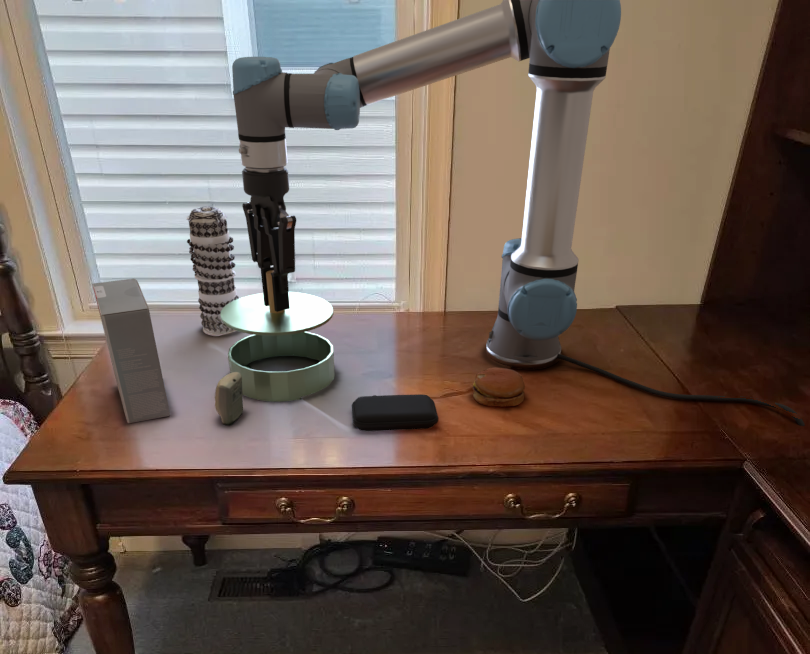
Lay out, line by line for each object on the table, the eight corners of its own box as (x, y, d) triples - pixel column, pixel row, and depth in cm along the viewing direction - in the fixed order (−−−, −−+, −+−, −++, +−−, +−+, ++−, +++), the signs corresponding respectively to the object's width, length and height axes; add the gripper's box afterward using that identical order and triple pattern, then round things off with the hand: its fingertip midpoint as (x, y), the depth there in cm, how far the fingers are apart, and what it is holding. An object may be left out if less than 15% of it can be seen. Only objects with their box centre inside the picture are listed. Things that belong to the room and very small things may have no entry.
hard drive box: (116, 387, 141) (91, 282, 130) (158, 380, 144) (137, 276, 132) (126, 424, 130) (100, 313, 118) (171, 416, 132) (150, 306, 121)
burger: (532, 405, 137) (535, 381, 134) (485, 412, 135) (487, 388, 132) (509, 382, 145) (511, 359, 142) (464, 389, 142) (465, 366, 140)
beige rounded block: (249, 425, 130) (244, 383, 125) (218, 429, 129) (212, 386, 124) (245, 410, 135) (240, 368, 130) (215, 413, 133) (209, 372, 129)
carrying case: (432, 403, 137) (351, 405, 136) (432, 387, 136) (350, 390, 135) (439, 431, 129) (353, 435, 128) (440, 416, 127) (352, 419, 126)
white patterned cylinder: (239, 337, 161) (224, 215, 147) (196, 336, 161) (177, 214, 147) (247, 321, 169) (233, 203, 154) (206, 320, 169) (188, 203, 154)
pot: (355, 381, 145) (354, 353, 141) (267, 412, 134) (264, 382, 131) (297, 349, 157) (295, 322, 153) (213, 375, 146) (209, 347, 143)
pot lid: (355, 320, 137) (354, 275, 133) (259, 348, 127) (254, 301, 122) (293, 290, 150) (290, 248, 145) (200, 313, 139) (194, 269, 134)
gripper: (220, 162, 126) (236, 299, 140) (271, 179, 117) (283, 324, 130) (258, 156, 130) (270, 290, 144) (311, 172, 121) (319, 314, 134)
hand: (276, 306), depth 137 cm, fingers closed on pot lid, 3 cm apart
